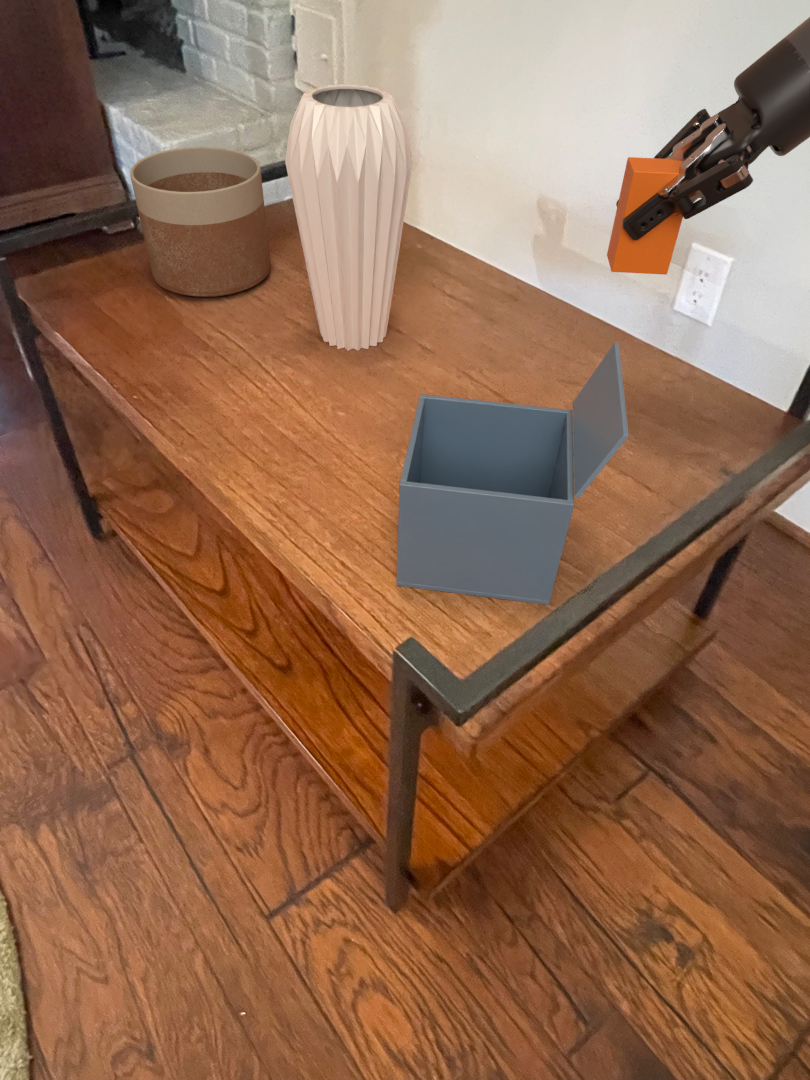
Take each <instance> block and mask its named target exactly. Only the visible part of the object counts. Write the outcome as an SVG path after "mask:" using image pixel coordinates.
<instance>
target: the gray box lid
mask: <svg viewBox="0 0 810 1080" xmlns="http://www.w3.org/2000/svg"><path fill="white" fill-rule="evenodd" d="M624 388H625V387H624V381H623V369H622V360H621V352H620V344H619V343H617V342H613V344H612V345H611V347H610V348H609V349H608V351H607V353H606V354H605V355H604V357H603V358H602V359H601V361H600V363H599V364H598V365H597V367H596V368H595V369H594V371H593V372H592V374H591V375H590V376H589V378H588V380H587V381H586V383H585V384H584V385H583V387H582V388H581V389H580V391H579V393H578V394H577V396H576V397H575V398H574V400H572V401H573V402H572V412H573V460H574V498H577V499H580V498H581V497H582V495H583V494H584V493H585V492H586V491H587V489H588V488H589V487H590V486H591V484H592V483H593V482H594V481H595V480H596V478H597V477H598V476H599V474H600V473H601V472H602V470H603V469H604V468H605V467H606V465H608V463H609V462H610V461H611V460H612V458H613V457H614V456H615V454H616V453H617V452H618V451H619V449H620V448H621V447H622V446H623V444H624V443H625V442H626V441H627V439H628V438H629V427H628V418H627V417H628V416H627V407H626V398H625V389H624Z"/></svg>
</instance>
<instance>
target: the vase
mask: <svg viewBox="0 0 810 1080" xmlns="http://www.w3.org/2000/svg"><path fill="white" fill-rule="evenodd" d="M299 100H300V101H299V103H298V105H297V107H296V110H295V112H294V115H293V116H292V119H291V121H290V125H289V130H288V137H287V145H286V152H285V159H284V162H285V167H286V172H287V177H288V182H289V187H290V192H291V198H292V202H293V208H294V212H295V217H296V222H297V227H298V230H299V232H298V233H299V238H300V241H301V247H302V251H303V256H304V257H303V258H304V261H305V262H304V263H305V266H306V271H307V276H308V280H309V286H310V290H311V295H312V300H313V305H314V311H315V315H316V320H317V324H318V329H319V333H320V337H322V339H323V342H324V343H328V346H329V347H334V346H336V348H337V350H341V349H345V350H346V352H349V351H351V350H355V351H356V352H359V351H361V349H364V350H369V349H370V347H377V346H378V343H384V338H386V337H387V331H388V326H389V319H390V314H391V313H390V312H391V307H392V300H393V293H394V288H395V287H394V286H395V280H396V274H397V269H398V268H397V267H398V262H399V261H398V260H399V254H400V249H401V248H400V247H401V241H402V236H403V229H404V221H405V217H406V208H407V202H408V195H409V189H410V183H411V177H412V176H411V175H412V170H413V169H412V168H413V159H412V157H413V155H412V150H411V145H410V139H409V134H408V129H407V125H406V123H405V121H404V119H403V116H402V114H401V112H400V109H399V108H398V105H397V104H396V101H395V98H394V97H393V95H392V94H390V93H389V92H388V90H384V89H383V90H382V89H381V88H380V87H372V86H371V87H370V86H369V85H368V84H363V85H359V84H357V83H351V84H346V83H339V84H331V83H330V84H327V86H324V85H322V86H321V85H317V87H316V88H309V89H308V90H307V92H303V94H302V95H301V98H300V99H299Z"/></svg>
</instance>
